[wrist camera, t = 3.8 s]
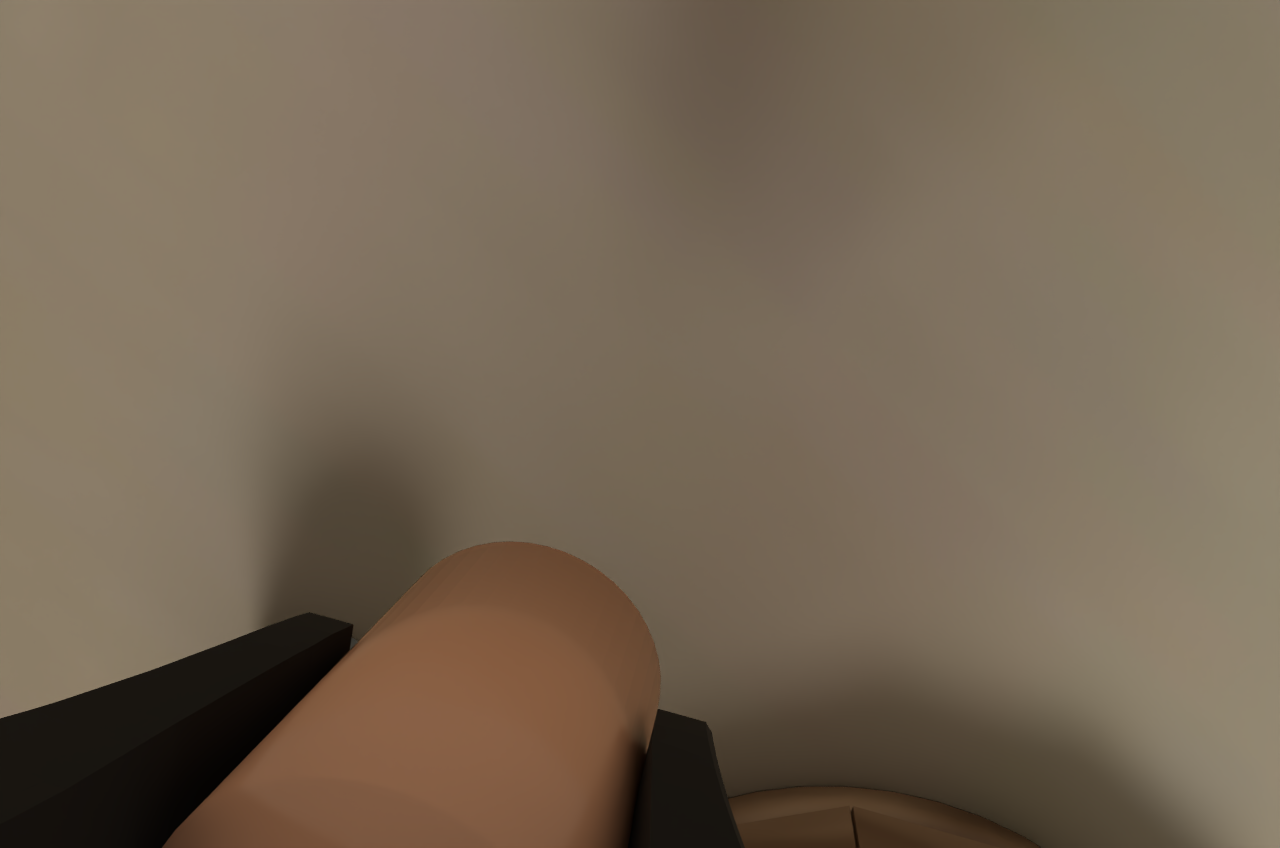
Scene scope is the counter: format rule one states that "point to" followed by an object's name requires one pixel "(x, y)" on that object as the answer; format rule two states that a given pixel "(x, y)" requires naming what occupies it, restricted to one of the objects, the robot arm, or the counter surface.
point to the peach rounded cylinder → (461, 721)
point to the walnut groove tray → (861, 821)
